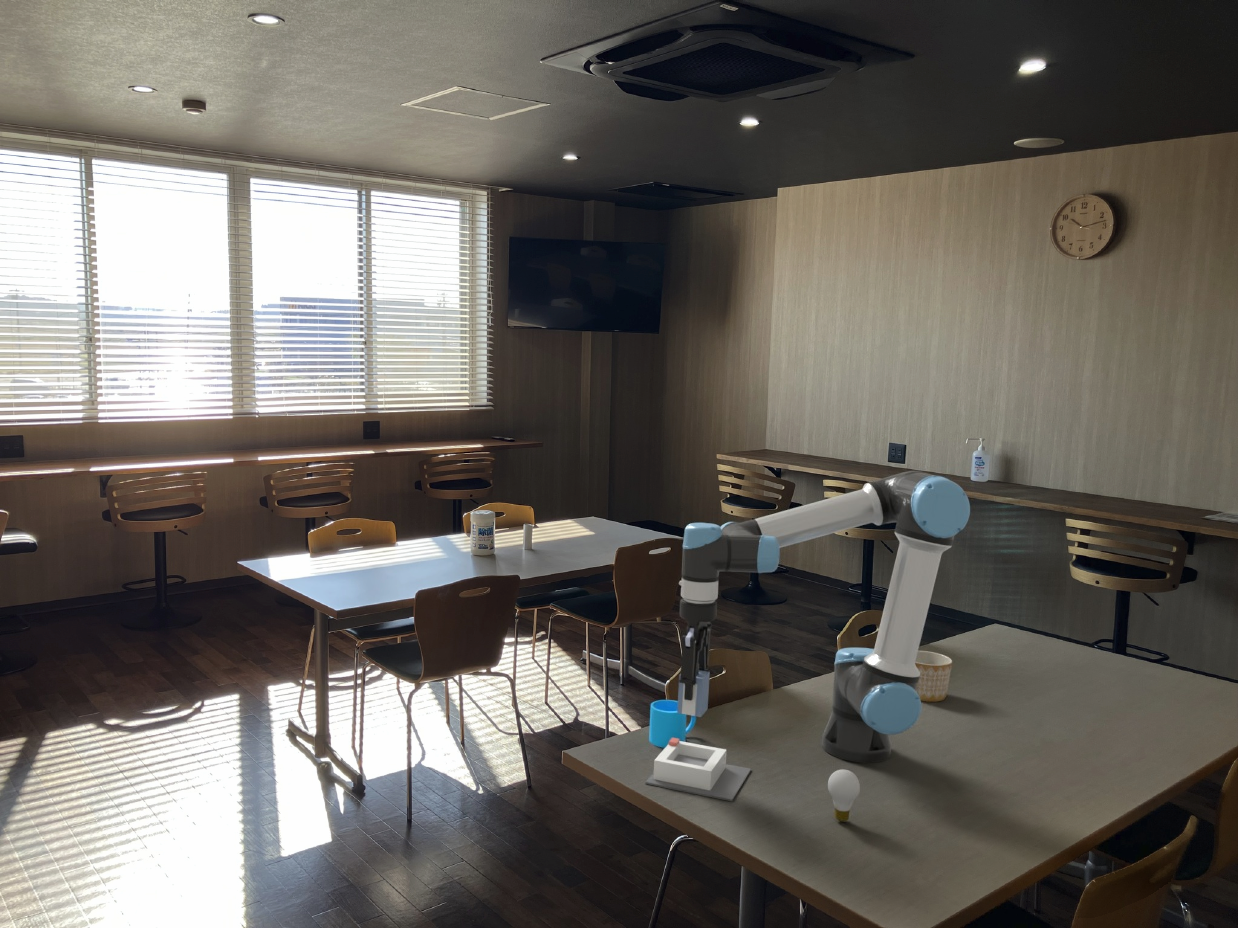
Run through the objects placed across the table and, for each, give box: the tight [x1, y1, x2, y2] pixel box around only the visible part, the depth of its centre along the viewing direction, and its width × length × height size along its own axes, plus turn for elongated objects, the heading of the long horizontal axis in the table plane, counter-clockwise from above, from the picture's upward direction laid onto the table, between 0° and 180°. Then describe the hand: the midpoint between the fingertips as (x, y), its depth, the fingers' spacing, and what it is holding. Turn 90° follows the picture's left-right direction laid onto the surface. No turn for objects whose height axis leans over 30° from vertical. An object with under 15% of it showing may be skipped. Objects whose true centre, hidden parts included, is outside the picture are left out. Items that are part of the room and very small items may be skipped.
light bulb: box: [827, 769, 861, 823], centre depth 180 cm, size 6×6×10 cm
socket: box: [644, 738, 752, 802], centre depth 197 cm, size 18×16×5 cm
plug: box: [677, 664, 710, 718], centre depth 196 cm, size 5×5×10 cm
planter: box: [915, 650, 953, 703], centre depth 253 cm, size 13×13×10 cm
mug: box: [648, 699, 697, 749], centre depth 217 cm, size 12×8×8 cm
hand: (692, 709), depth 197 cm, fingers closed on plug, 5 cm apart
